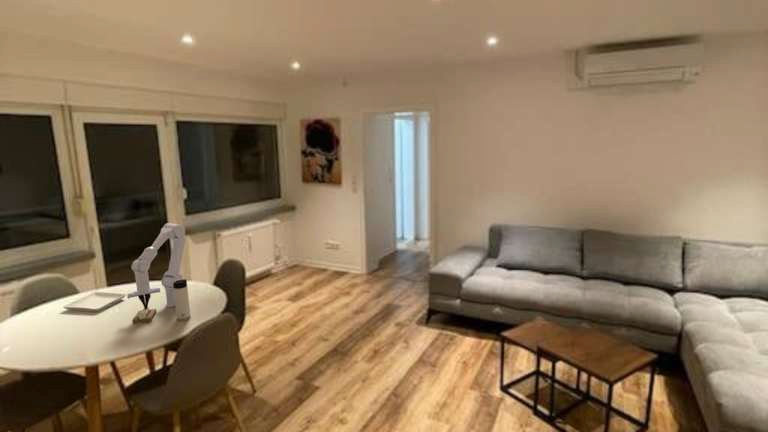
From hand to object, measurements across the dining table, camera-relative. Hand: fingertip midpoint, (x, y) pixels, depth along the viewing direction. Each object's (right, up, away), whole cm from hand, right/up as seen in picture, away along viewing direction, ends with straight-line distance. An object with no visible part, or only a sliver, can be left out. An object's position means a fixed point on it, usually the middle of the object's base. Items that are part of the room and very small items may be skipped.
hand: (145, 308), depth 219 cm
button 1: (+2, -4, -7) cm, 8 cm away
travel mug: (+21, -4, -3) cm, 22 cm away
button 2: (0, -3, 0) cm, 3 cm away
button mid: (+1, -2, -3) cm, 4 cm away
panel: (+1, -4, -3) cm, 5 cm away
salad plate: (-36, -2, +15) cm, 39 cm away
